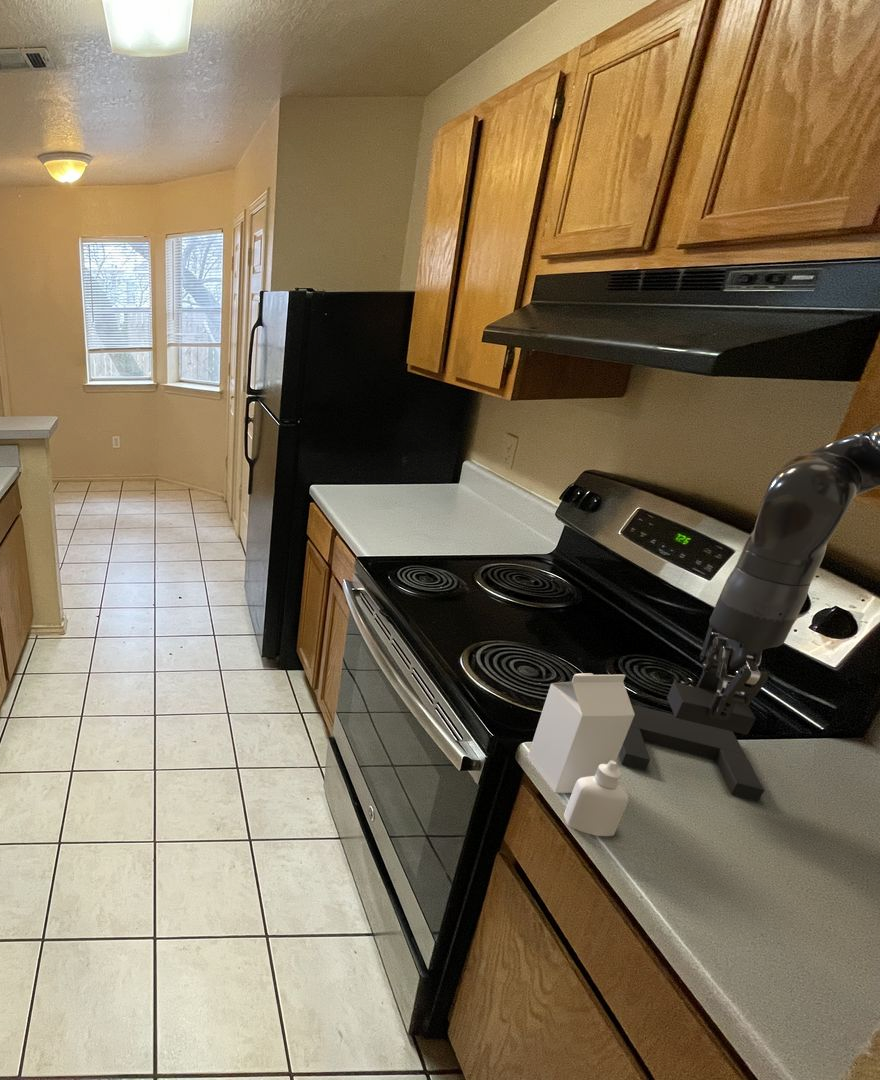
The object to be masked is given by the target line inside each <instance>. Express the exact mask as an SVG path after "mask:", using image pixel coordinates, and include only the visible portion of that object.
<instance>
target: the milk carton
mask: <svg viewBox="0 0 880 1080" xmlns="http://www.w3.org/2000/svg"><path fill="white" fill-rule="evenodd" d="M625 678H626V674H621V673H620V674H594V673H592V672H587V673H586V672H585V673H583V672H582V673H581V672H580V673H574V675H573V676H572V679H571V681H563V682H551V683H550V686H549V688H548V692H547V695H546V698H545V701H544V705H543V708H542V711H541V713H540V717H539V719H538V723H537V727H536V729H535V733H534V736H533V739H532V741H531V744H530V748H529V751H528V754H527V759H528V760H529V761H530V762H531V763H532V765H533V766H534V768H535V769H536V770H537V772H538V773H539V774H540V776H541V777H542V778H543V779H544V781H545V782H546V783H547V784H548V785H549V787H550V788H551V790H552V791H553V792H554V793H555V794H572V791H573V789H574V786H575V784H576V782H577V780H578V779H580V778H583V777H589V776H595V774H596V772H597V769H598V767H599V765H600V764H608V763H609V761H610V760H612V761H615V762H616V763H617V760H618V757H619V752H620V750H621V747H622V745H623V742H624V740H625V737H626V735H627V732H628V730H629V727H630V725H631V722H632V720H633V717H634V715H635V714H634V711H633V708H632V705H633V704H632V703H631V700H630V696H629V694H628V692H627V688H626V686H625V682H624V680H625ZM631 704H632V705H631Z"/></svg>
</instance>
